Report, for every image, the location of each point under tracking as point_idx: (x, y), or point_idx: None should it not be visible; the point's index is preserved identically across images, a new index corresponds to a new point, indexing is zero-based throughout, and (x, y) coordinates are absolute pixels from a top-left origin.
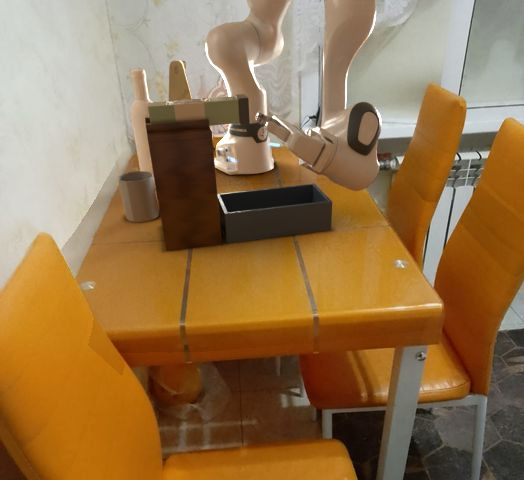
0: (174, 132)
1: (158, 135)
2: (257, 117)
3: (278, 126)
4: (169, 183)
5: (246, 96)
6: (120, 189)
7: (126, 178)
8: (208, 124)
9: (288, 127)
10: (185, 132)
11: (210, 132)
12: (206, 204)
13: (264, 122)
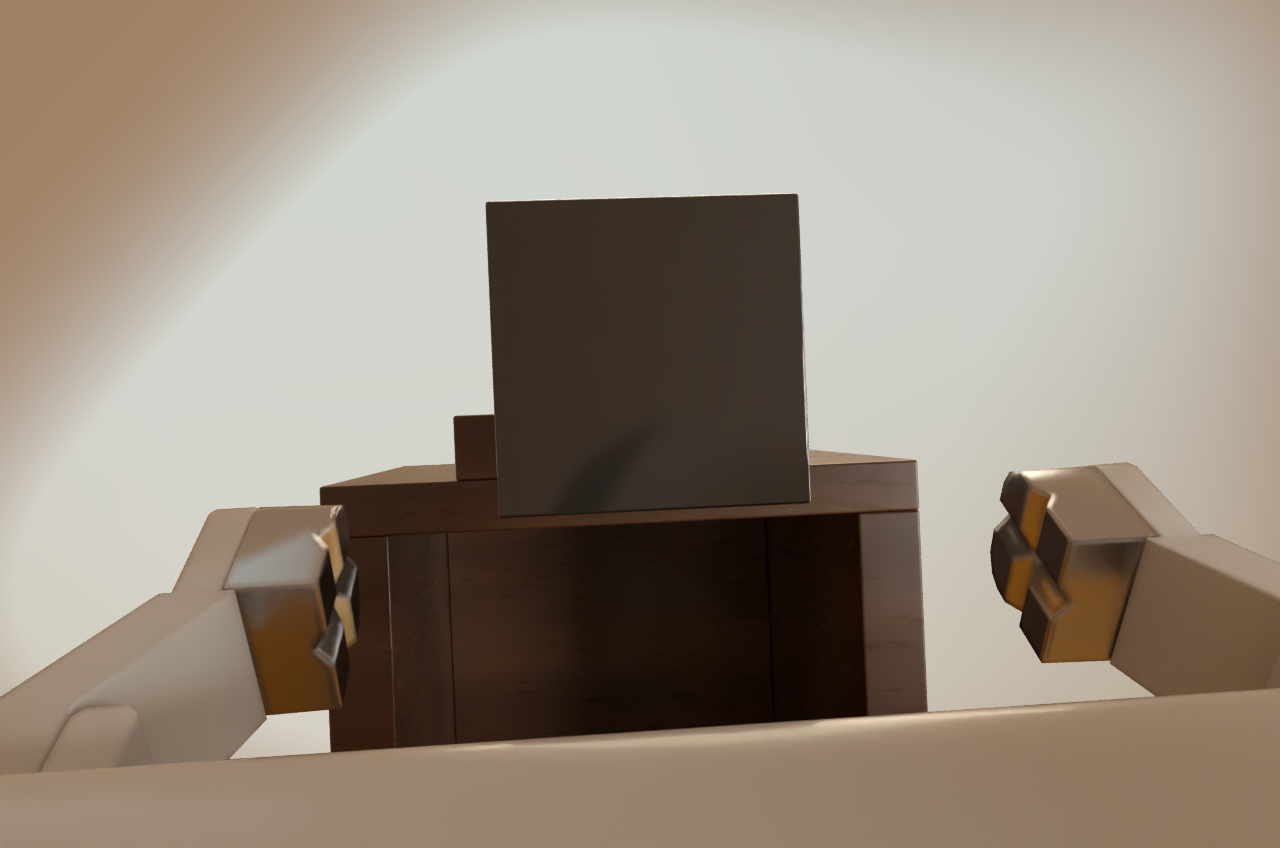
0: (426, 470)
1: (399, 468)
2: (994, 533)
3: (128, 615)
4: None
5: (597, 199)
6: None
7: None
8: (457, 454)
9: (230, 761)
10: (388, 475)
11: (322, 496)
12: None
13: (1156, 665)
